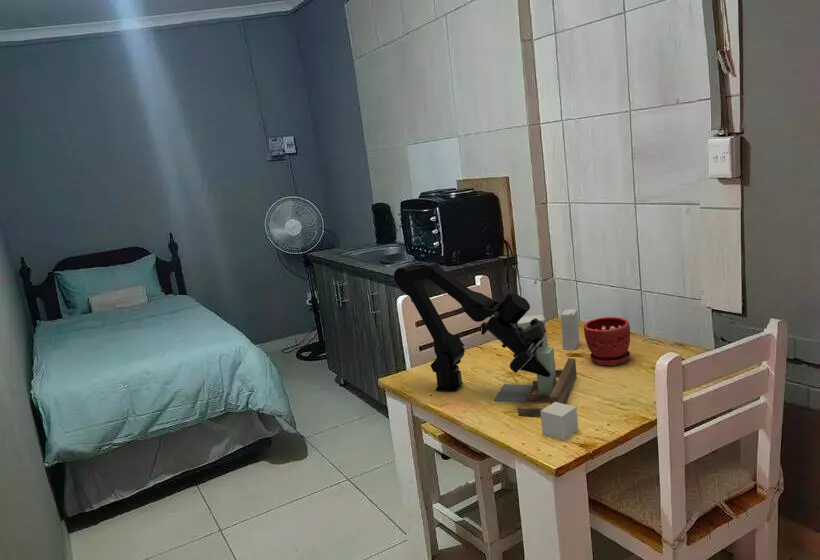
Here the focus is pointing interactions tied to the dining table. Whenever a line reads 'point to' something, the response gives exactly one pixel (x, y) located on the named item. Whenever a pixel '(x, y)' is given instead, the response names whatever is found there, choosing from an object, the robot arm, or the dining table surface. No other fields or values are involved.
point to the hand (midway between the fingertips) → (551, 372)
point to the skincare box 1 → (525, 322)
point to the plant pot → (608, 340)
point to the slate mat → (513, 393)
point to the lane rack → (558, 393)
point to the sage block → (548, 361)
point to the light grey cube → (559, 420)
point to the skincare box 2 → (570, 329)
